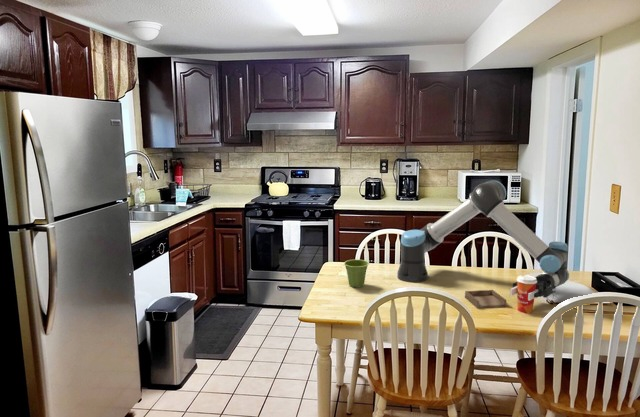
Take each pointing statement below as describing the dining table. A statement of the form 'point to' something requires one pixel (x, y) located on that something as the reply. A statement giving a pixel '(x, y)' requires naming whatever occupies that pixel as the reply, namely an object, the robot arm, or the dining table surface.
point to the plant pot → (356, 272)
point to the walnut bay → (485, 299)
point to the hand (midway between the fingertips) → (520, 294)
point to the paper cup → (525, 292)
